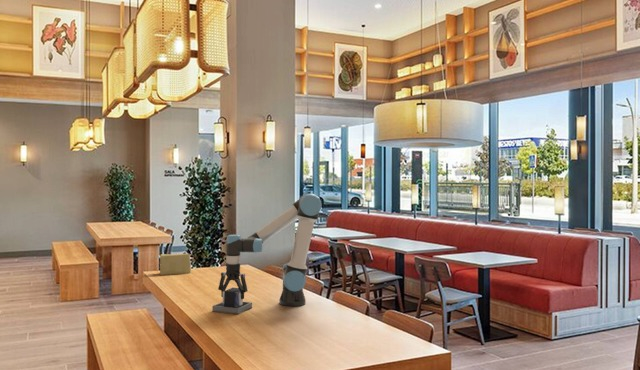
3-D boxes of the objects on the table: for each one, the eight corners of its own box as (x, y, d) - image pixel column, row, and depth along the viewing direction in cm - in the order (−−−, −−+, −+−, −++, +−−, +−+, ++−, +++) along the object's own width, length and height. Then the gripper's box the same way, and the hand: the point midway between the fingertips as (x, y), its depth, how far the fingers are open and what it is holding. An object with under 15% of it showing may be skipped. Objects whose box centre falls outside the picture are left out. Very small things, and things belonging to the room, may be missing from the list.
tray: (251, 307, 288) (252, 302, 288) (237, 314, 274) (238, 308, 274) (227, 305, 294) (227, 299, 294) (212, 311, 279) (212, 305, 279)
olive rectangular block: (189, 272, 400) (190, 252, 400) (191, 274, 391) (191, 254, 391) (159, 273, 393) (160, 253, 393) (160, 275, 384) (160, 255, 384)
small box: (234, 311, 278) (234, 291, 278) (223, 310, 280) (223, 290, 280) (242, 306, 288) (243, 288, 288) (232, 305, 290) (232, 287, 290)
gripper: (254, 263, 283) (253, 304, 283) (219, 260, 291) (218, 300, 291) (247, 265, 276) (247, 307, 276) (211, 262, 284) (211, 303, 284)
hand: (232, 304), depth 284 cm, fingers open, 9 cm apart
